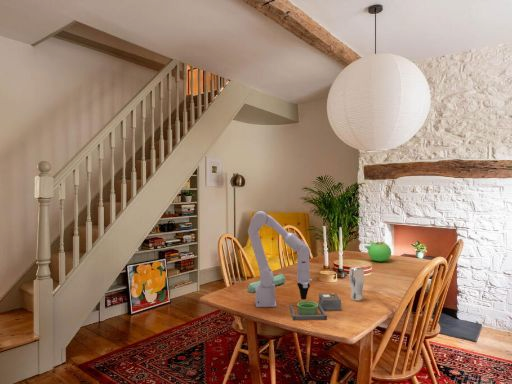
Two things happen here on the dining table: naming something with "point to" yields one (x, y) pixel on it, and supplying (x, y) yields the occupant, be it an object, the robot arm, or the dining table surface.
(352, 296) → the beer glass
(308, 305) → the ramekin
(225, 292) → the dining table surface
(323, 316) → the frame
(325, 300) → the box
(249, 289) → the teal cylinder
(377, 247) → the green round body
